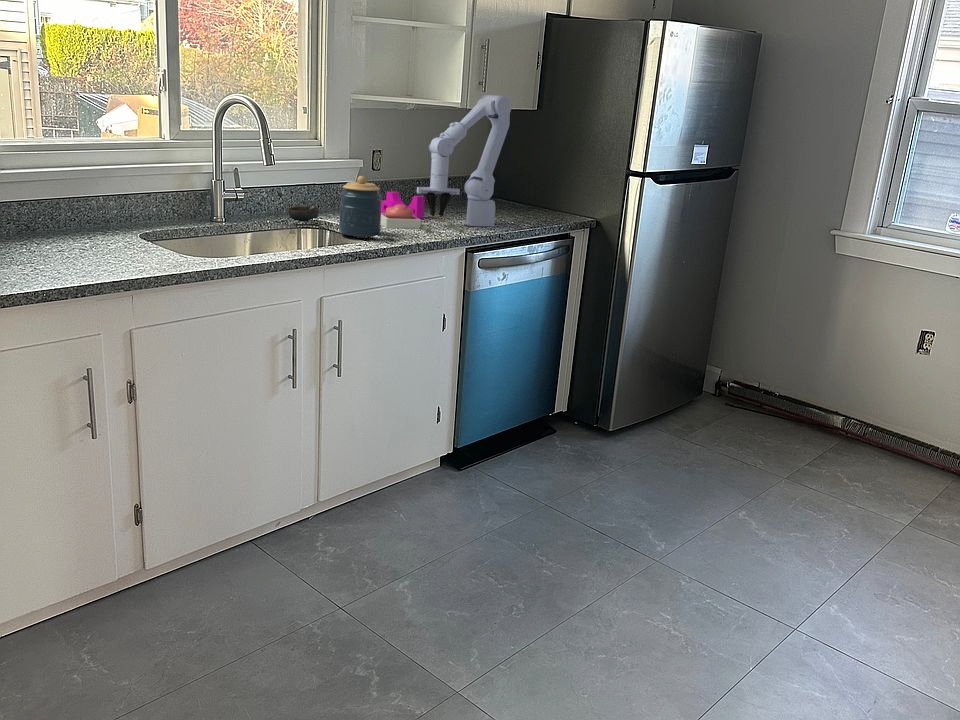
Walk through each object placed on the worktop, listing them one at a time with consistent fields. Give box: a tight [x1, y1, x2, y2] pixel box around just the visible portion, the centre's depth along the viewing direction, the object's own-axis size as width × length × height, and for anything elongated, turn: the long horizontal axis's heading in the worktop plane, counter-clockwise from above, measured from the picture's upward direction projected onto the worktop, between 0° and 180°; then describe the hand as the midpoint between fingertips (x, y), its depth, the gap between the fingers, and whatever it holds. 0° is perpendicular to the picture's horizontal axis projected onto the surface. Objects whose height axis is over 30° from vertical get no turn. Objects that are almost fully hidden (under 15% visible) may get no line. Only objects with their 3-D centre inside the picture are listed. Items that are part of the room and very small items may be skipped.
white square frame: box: [381, 213, 422, 230], centre depth 295 cm, size 12×12×3 cm
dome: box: [386, 204, 413, 219], centre depth 294 cm, size 9×9×6 cm
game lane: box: [420, 215, 465, 233], centre depth 304 cm, size 13×34×1 cm, turn 20°
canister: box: [338, 175, 383, 237], centre depth 270 cm, size 13×13×18 cm
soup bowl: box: [287, 205, 320, 226], centre depth 298 cm, size 15×16×7 cm
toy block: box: [380, 191, 426, 219], centre depth 312 cm, size 15×6×8 cm, turn 51°
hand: (436, 215), depth 297 cm, fingers closed
